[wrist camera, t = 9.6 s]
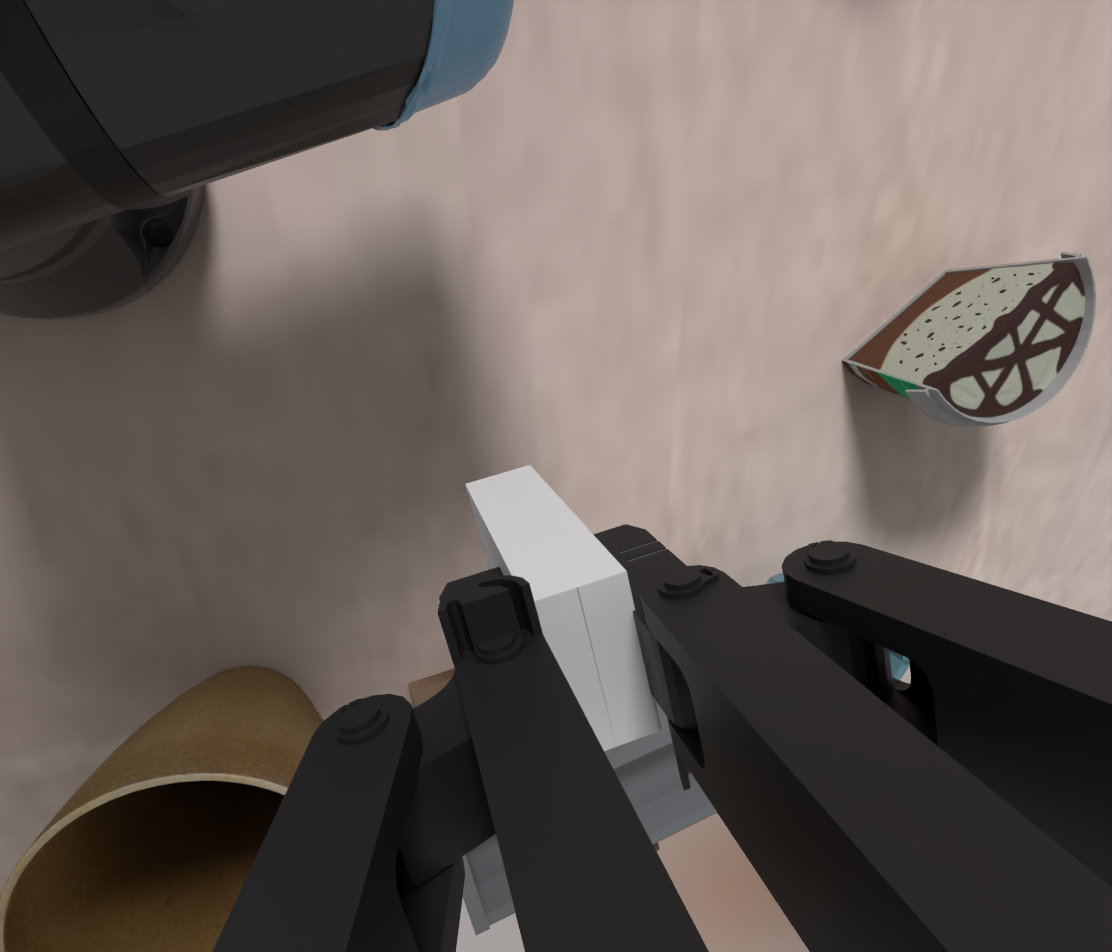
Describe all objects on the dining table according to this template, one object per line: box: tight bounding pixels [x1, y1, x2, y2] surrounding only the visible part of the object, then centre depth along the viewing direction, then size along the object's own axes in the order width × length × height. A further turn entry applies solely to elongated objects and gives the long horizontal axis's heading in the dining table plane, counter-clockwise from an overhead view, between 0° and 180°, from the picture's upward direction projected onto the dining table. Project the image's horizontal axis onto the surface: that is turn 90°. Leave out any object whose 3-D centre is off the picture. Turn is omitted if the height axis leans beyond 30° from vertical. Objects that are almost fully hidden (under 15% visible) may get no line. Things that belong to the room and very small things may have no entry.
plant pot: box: [0, 667, 323, 952], centre depth 40 cm, size 15×15×16 cm
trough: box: [462, 702, 717, 935], centre depth 45 cm, size 22×12×5 cm, turn 103°
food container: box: [842, 252, 1096, 426], centre depth 48 cm, size 12×6×10 cm, turn 129°
